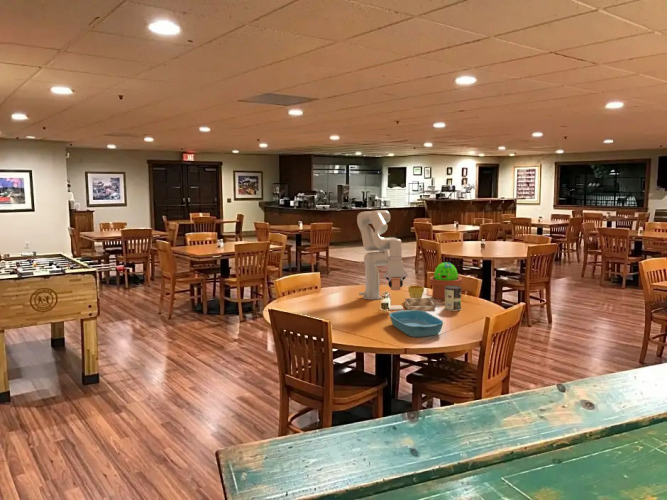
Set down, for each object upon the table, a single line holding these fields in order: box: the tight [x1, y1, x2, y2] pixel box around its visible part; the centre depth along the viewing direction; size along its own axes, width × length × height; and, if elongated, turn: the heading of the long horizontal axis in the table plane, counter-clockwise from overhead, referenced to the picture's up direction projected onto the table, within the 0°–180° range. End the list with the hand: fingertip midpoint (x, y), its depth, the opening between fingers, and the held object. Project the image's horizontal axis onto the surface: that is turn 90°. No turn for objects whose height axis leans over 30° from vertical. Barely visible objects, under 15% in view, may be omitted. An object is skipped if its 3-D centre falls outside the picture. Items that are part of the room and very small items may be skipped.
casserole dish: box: [388, 309, 444, 338], centre depth 286 cm, size 37×22×7 cm, turn 16°
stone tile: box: [388, 304, 404, 311], centre depth 333 cm, size 9×9×1 cm
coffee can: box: [444, 285, 463, 312], centre depth 329 cm, size 10×10×14 cm
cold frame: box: [404, 297, 436, 311], centre depth 333 cm, size 17×13×5 cm
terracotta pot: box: [390, 277, 401, 291], centre depth 331 cm, size 7×7×8 cm
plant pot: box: [407, 285, 425, 298], centre depth 352 cm, size 10×10×10 cm
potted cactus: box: [428, 261, 463, 301], centre depth 360 cm, size 22×22×25 cm
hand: (395, 286), depth 331 cm, fingers closed on terracotta pot, 6 cm apart
